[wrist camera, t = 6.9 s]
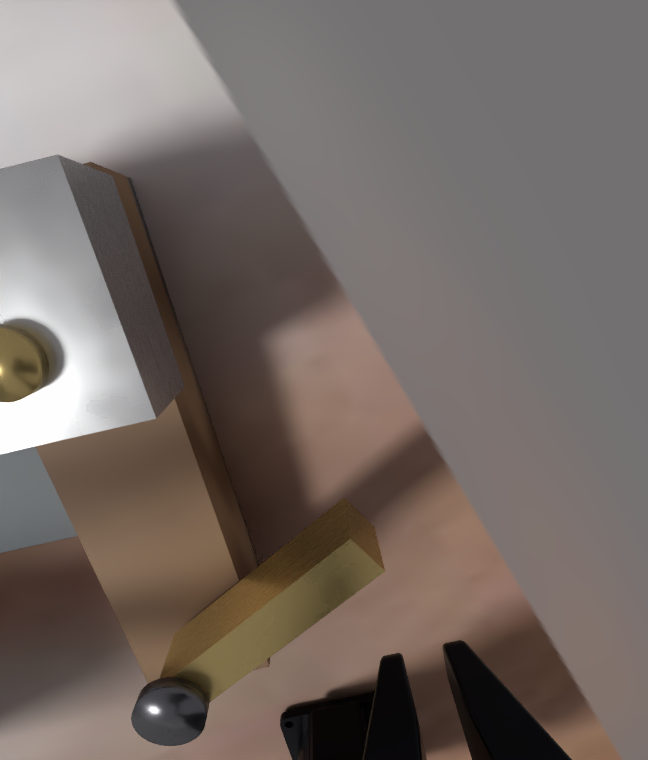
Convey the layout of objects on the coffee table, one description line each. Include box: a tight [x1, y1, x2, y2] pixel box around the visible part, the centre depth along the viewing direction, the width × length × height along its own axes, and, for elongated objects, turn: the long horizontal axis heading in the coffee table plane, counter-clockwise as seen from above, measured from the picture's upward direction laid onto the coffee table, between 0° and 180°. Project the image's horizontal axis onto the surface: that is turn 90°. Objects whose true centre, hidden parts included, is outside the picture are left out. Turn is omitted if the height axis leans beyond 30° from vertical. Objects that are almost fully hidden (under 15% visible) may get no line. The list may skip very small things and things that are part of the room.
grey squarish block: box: [0, 155, 185, 454], centre depth 12 cm, size 7×6×4 cm
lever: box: [131, 498, 385, 746], centre depth 16 cm, size 11×3×3 cm, turn 132°
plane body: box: [35, 162, 270, 684], centre depth 17 cm, size 21×6×3 cm, turn 13°
